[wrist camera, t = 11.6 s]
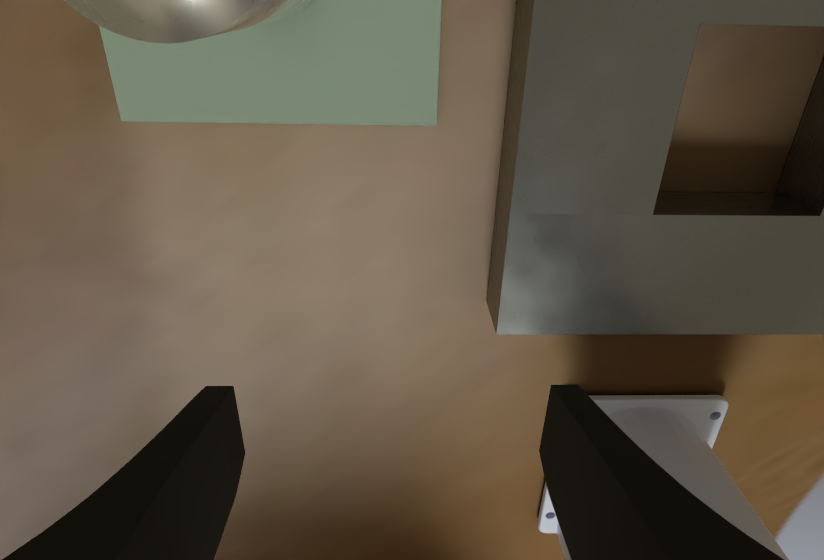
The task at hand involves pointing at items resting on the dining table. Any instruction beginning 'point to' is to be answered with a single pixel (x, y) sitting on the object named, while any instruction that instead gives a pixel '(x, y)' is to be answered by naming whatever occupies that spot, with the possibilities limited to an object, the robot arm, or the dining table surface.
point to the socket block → (642, 184)
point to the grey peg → (183, 16)
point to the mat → (290, 69)
